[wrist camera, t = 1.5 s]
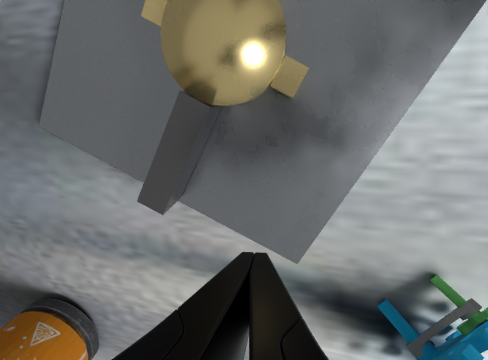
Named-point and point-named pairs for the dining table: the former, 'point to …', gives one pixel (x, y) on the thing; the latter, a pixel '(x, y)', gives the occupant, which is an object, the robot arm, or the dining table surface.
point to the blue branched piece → (457, 345)
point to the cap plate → (255, 106)
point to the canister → (49, 333)
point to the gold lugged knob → (212, 77)
